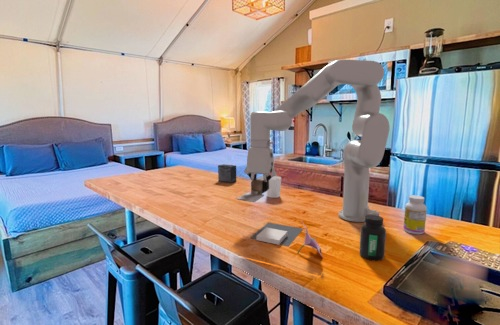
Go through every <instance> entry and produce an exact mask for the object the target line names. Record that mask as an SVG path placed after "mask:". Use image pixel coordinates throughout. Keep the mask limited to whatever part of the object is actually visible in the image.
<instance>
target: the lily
mask: <svg viewBox="0 0 500 325" xmlns="http://www.w3.org/2000/svg"><path fill="white" fill-rule="evenodd" d="M300 221H301V223H302V224H303V227H304V228H305V229H303V230H302V232H304V234H305V236H304V243H303V245H301V247H300V248H299V249H298V251H297V253H296V254H299V253H300V252H301V250H302V249H303V247H304V246H308V247H311V248H313V249H315V250H316V251H317V252H318V254H320V256H321V258H323V254H322V253H321V252H320V250H321V247H320V246H319V244H318V242H317V240H316V239H318V237H316V236H315V237H312V236H311V235H310V234H309V231H308V228H307V227H306V225H305V224H304V222H303V221H302V220H300Z"/></svg>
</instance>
